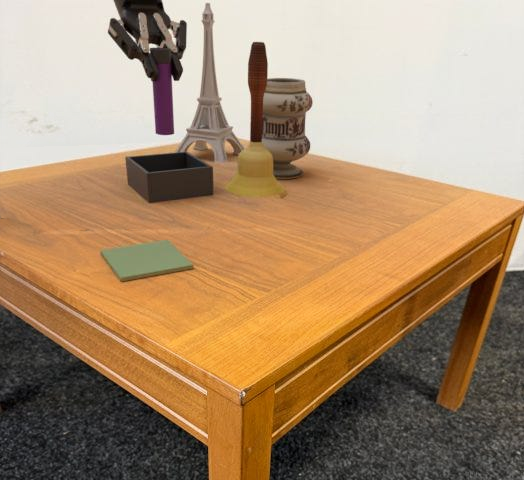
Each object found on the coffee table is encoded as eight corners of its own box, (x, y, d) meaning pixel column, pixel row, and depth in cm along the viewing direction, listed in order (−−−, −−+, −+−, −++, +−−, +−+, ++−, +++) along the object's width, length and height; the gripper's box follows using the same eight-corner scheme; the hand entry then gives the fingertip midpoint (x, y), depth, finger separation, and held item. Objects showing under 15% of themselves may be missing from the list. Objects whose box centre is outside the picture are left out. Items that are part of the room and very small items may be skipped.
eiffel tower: (197, 146, 135) (193, 2, 118) (247, 153, 131) (250, 4, 114) (170, 158, 124) (162, 1, 108) (224, 165, 120) (223, 4, 104)
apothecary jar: (265, 163, 123) (268, 74, 114) (315, 170, 119) (323, 79, 110) (242, 175, 114) (243, 80, 104) (296, 184, 110) (302, 85, 100)
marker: (154, 135, 94) (149, 48, 87) (155, 131, 97) (150, 47, 90) (174, 135, 94) (171, 49, 87) (174, 131, 97) (171, 48, 90)
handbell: (239, 179, 112) (240, 38, 98) (295, 187, 108) (305, 42, 94) (211, 195, 102) (208, 41, 89) (272, 205, 98) (279, 46, 85)
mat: (121, 282, 70) (120, 277, 70) (100, 253, 78) (100, 249, 77) (193, 268, 74) (193, 264, 74) (167, 243, 82) (167, 239, 81)
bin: (149, 207, 95) (146, 173, 92) (128, 188, 104) (125, 156, 101) (213, 199, 100) (213, 166, 97) (188, 181, 109) (187, 151, 106)
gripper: (94, -36, 85) (130, 61, 83) (177, -29, 91) (213, 60, 89) (87, 4, 91) (121, 95, 89) (166, 7, 98) (199, 91, 96)
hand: (167, 77), depth 89 cm, fingers closed on marker, 3 cm apart
